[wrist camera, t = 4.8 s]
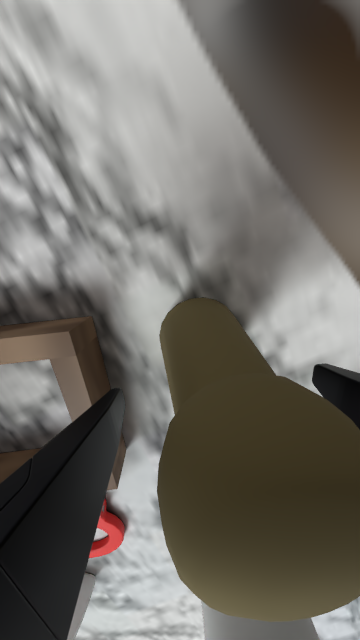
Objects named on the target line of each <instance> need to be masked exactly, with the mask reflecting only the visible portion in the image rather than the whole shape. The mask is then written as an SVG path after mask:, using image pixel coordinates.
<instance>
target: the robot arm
mask: <svg viewBox="0 0 360 640" xmlns="http://www.w3.org/2000/svg"><path fill="white" fill-rule="evenodd" d="M312 382H313V384H314V386H315V387H316V388H317V390H318V391H319V392H320V393H321V395H322V396H323V397H324V398H325V399H327V400H328V401H329V402H331V403H332V404H333V405H334V406H336V407H337V408H338V409H339V410H340V411H342V412H343V413H344V414H345V415H346V416H348V417H349V418H350V419H351V420H352V421H353V422H354V423H355V425H356V426H357V427H358V428H359V430H360V373H357V372H353V371H350V370H346V369H343V368H339V367H336V366H332V365H329V364H317V365H315V366H314V370H313V377H312ZM124 411H125V401H124V396H123V392H122V389H121V388H114V389H111V390H110V391H108V392H107V393H106V394H105V395H104V396H103V397H101V398H100V399H99V400H98V401H97V402H96V403H94V404H93V405H92V406H91V407H90V408H88V409H87V410H86V411H85V412H84V413H83V414H81V415H80V416H79V417H78V418H77V419H76V420H74V421H73V422H72V423H71V424H70V425H69V426H67V427H66V428H65V429H64V430H63V431H62V432H60V433H59V434H58V435H57V436H56V437H55V438H53V439H52V440H51V441H50V442H49V443H47V444H46V445H45V446H44V447H43V448H42V449H40V450H39V451H38V452H37V453H36V454H35V455H33V457H32V458H30V459H29V460H27V461H26V462H25V463H24V464H23V465H22V466H20V467H19V468H18V469H17V470H16V471H14V472H13V473H12V474H11V475H10V476H8V477H7V478H6V479H5V480H4V481H2V482H1V483H0V640H67V638H68V634H69V630H70V626H71V623H72V619H73V615H74V611H75V608H76V604H77V600H78V596H79V593H80V589H81V585H82V581H83V578H84V574H85V570H86V566H87V563H88V559H89V555H90V551H91V548H92V544H93V540H94V536H95V533H96V529H97V525H98V521H99V518H100V514H101V510H102V506H103V503H104V499H105V495H106V492H107V488H108V484H109V480H110V477H111V473H112V469H113V465H114V462H115V458H116V454H117V450H118V446H119V441H120V436H121V430H122V423H123V417H124Z"/></svg>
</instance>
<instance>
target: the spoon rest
mask: <svg viewBox="0 0 360 640" xmlns="http://www.w3.org/2000/svg"><path fill="white" fill-rule="evenodd" d="M95 580H96V578H95V576H94V575H92V574H89V573H86V572H85V574H84V578H83V581H82V585H81V589H80V593H79V596H78V600H77V604H76V608H75V611H74V615H73V619H72V623H71V626H70V630H69V634H68V638H67V640H74V639H75V637H76V634H77V632H78V630H79V627H80V625H81V622H82V620H83V617H84V615H85V612H86V609H87V607H88V604H89V601H90V598H91V595H92V592H93V588H94V585H95Z"/></svg>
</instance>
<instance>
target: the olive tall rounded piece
mask: <svg viewBox="0 0 360 640" xmlns="http://www.w3.org/2000/svg"><path fill="white" fill-rule="evenodd" d="M159 336H160V343H161V349H162V354H163V359H164V364H165V369H166V374H167V378H168V383H169V388H170V393H171V398H172V403H173V408H174V413H175V416H174V418H173V419H172V420H171V422H170V424H169V428H168V431H167V435H166V438H165V442H164V446H163V450H162V454H161V458H160V462H159V470H158V486H157V494H158V501H159V507H160V514H161V521H162V526H163V531H164V536H165V540H166V545H167V548H168V550H169V552H170V555H171V557H172V560H173V562H174V565H175V567H176V570H177V572H178V575H179V577H180V579H181V580H182V581H183V583H184V584H185V585H186V586H187V587H188V588H189V589H190V590H191V591H192V592H193V593H194V594H195V595H196V596H197V597H198V598H199V599H201V600H202V601H203V602H204V603H205V604H206V605H207V606H209V607H210V608H212V609H214V610H217V611H219V612H221V613H223V614H226V615H228V616H235V617H241V618H247V619H254V620H261V621H268V622H284V621H294V620H300V619H306V618H311V617H315V616H318V615H321V614H325V613H328V612H330V611H333V610H335V609H337V608H339V607H342V606H344V605H346V604H348V603H350V602H351V601H353V600H354V599H356V598H358V597H359V596H360V430H359V428H358V427H357V426H356V425H355V423H354V422H353V421H352V420H351V419H350V418H349V417H348V416H346V415H345V414H344V413H343V412H342V411H340V410H339V409H338V408H337V407H336V406H334V405H333V404H332V403H331V402H329V401H328V400H327V399H325V398H323V397H321V396H319V395H318V394H316V393H314V392H312V391H310V390H308V389H307V388H305V387H303V386H301V385H299V384H297V383H295V382H293V381H292V380H290V379H288V378H286V377H282V376H276V374H275V373H274V371H273V370H272V369H271V367H270V366H269V364H268V363H267V362H266V360H265V359H264V357H263V356H262V355H261V353H260V352H259V350H258V349H257V347H256V346H255V345H254V343H253V342H252V340H251V339H250V338H249V336H248V335H247V333H246V332H245V331H244V329H243V328H242V326H241V325H240V324H239V322H238V321H237V319H236V318H235V316H234V315H233V314H232V313H231V311H230V310H229V309H228V308H227V307H226V306H225V305H223V304H221V303H220V302H218V301H216V300H213V299H208V298H204V297H202V298H193V299H189V300H186V301H184V302H182V303H179V304H178V305H176V306H175V307H174V308H173V309H172V310H171V311H170V312H169V313H168V314H167V316H166V317H165V319H164V321H163V322H162V325H161V330H160V335H159Z"/></svg>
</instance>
